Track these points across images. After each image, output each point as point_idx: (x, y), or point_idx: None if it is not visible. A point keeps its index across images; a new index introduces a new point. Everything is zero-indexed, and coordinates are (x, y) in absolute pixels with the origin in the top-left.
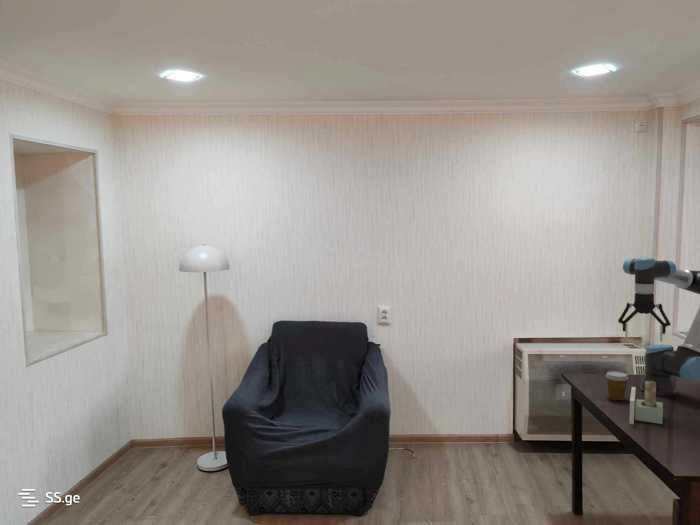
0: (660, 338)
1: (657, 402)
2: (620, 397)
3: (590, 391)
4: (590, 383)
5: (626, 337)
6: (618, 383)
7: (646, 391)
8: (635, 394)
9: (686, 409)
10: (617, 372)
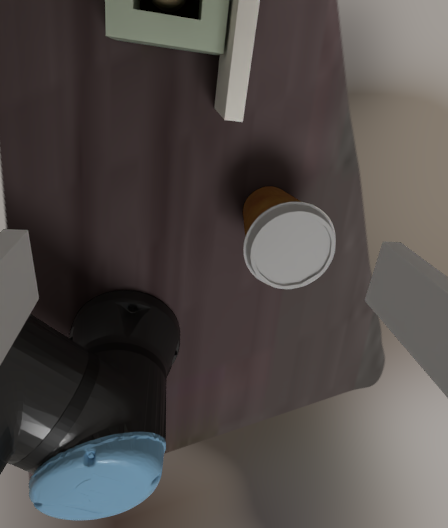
0: (11, 246)
1: (128, 28)
2: (259, 192)
3: (341, 254)
4: (325, 331)
5: (400, 251)
6: (284, 201)
7: None
8: (222, 102)
9: (30, 179)
10: (284, 283)
